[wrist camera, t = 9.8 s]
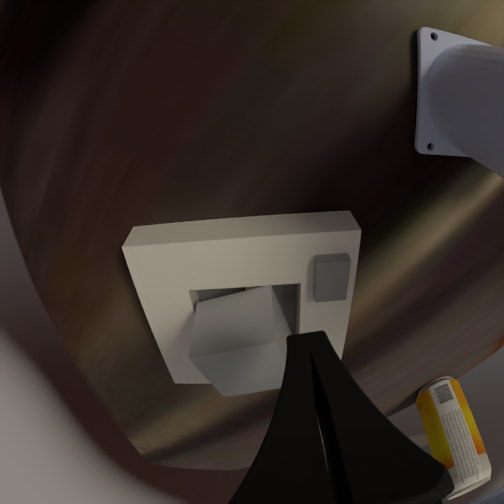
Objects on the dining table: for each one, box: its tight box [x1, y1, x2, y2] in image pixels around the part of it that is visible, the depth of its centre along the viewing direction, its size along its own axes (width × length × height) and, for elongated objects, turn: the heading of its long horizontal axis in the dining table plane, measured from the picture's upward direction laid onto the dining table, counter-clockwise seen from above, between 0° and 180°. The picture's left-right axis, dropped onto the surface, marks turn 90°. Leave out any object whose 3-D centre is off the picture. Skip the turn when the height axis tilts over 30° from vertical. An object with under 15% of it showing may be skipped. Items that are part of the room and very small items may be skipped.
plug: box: [189, 284, 292, 397], centre depth 21 cm, size 5×5×6 cm
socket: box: [122, 211, 361, 384], centre depth 23 cm, size 14×14×3 cm
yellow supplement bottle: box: [416, 376, 491, 499], centre depth 27 cm, size 6×6×15 cm
